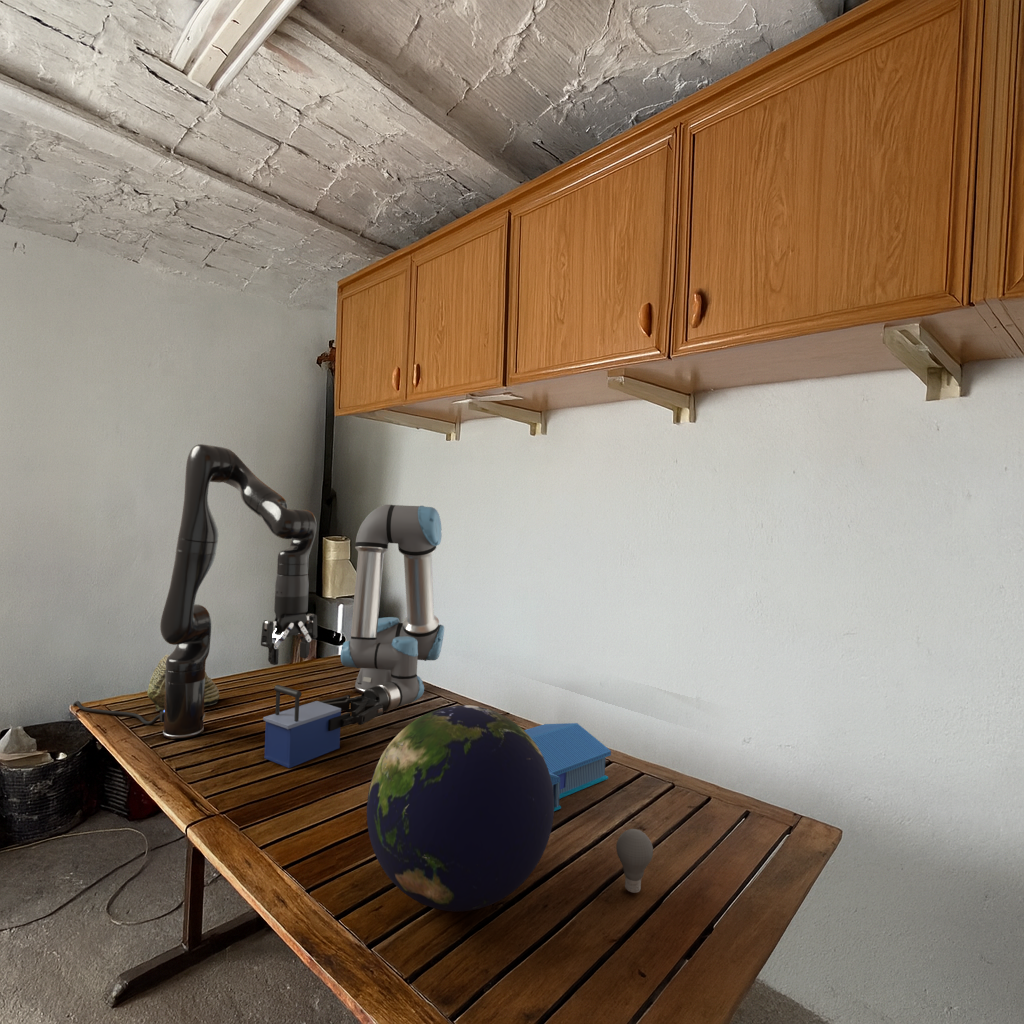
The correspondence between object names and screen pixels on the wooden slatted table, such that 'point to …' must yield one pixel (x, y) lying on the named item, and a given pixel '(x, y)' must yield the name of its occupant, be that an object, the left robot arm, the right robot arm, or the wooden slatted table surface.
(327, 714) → the grey lid
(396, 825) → the globe
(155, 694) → the fossil
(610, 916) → the wooden slatted table surface
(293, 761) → the chest
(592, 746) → the model building
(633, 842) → the light bulb
